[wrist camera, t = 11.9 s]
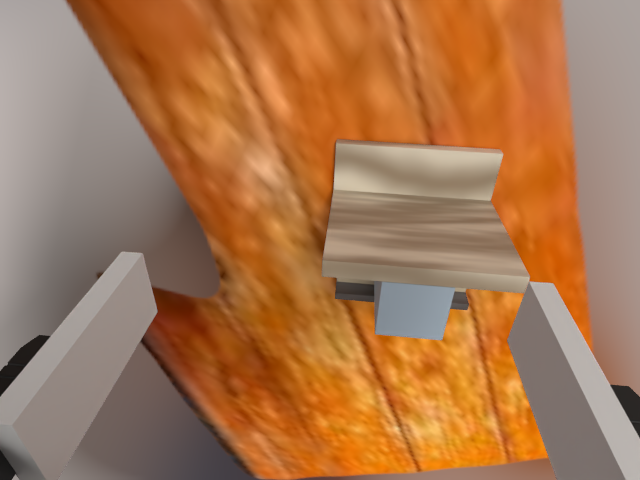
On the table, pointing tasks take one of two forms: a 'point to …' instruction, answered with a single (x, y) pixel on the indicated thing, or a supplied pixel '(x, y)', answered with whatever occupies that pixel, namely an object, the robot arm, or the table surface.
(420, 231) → the grey slotted stand
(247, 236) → the table surface
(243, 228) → the table surface
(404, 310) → the grey rectangular block
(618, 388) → the robot arm
